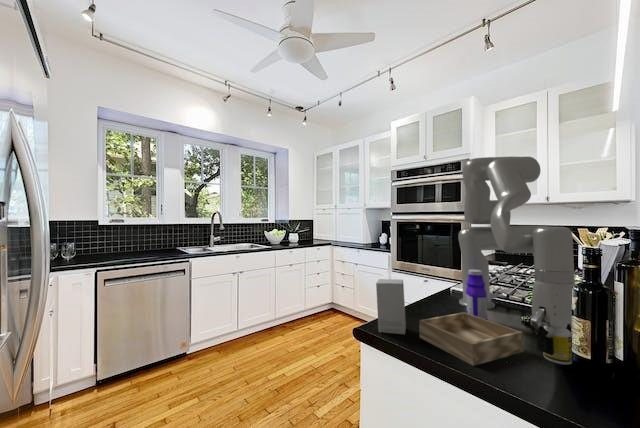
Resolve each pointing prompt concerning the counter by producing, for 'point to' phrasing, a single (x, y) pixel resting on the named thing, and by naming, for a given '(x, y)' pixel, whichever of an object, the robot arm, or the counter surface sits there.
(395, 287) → the skincare box
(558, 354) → the supplement bottle
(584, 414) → the counter surface
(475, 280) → the bottle
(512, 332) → the crate
